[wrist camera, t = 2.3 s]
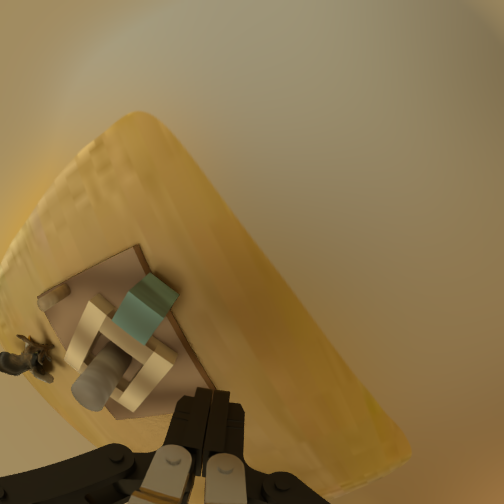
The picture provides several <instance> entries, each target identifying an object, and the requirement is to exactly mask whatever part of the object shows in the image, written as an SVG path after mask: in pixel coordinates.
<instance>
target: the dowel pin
mask: <svg viewBox="0 0 504 504" xmlns="http://www.w3.org/2000/svg"><path fill="white" fill-rule="evenodd" d="M70 293H71V290H70V287H69V286H68V285H67V284H63V285H61V286H59V287H58V288H56V289H54V290H53V291H51V292H49V293H48V294H46V295H44V296H43V297H41V298H39V299H38V301H37V304H38V307H39V309H40V310H41V311H43V312H45V311H46V310H48V309H49V308H51V307H52V306H54V305H55V304H57V303H58V302H60V301H61V300H63V299H64V298H66V297H67V296H69V295H70Z"/></svg>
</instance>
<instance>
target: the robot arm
mask: <svg viewBox="0 0 504 504" xmlns="http://www.w3.org/2000/svg"><path fill="white" fill-rule="evenodd" d="M212 395H213V399H212ZM229 396H230V392H229V391H222V390H215V389H214V393H213V389H208V388H202V387H197V388H196V392H195V396H194V397H191V396H186V395H184V396H183V397H182V398H181V399H180V400H178V401H177V404H176V407H175V410H174V413H173V416H172V419H171V422H170V426H169V429H168V432H167V435H166V438H165V441H164V444H163V445H162V447H160V448H159V449H158V450H156V451H154V452H149V453H132V451H131V450H130V449H129V448H128V447H126V446H124V445H122V444H117V443H112V444H108V445H105V446H103V447H100V448H98V449H95V450H92V451H90V452H87V453H84V454H82V455H79V456H76V457H73V458H70V459H67V460H64V461H61V462H58V463H55V464H52V465H48V466H45V467H41V468H38V469H34V470H30V471H27V472H23V473H18V474H14V475H9V476H5V477H0V504H124V503H126V502H128V504H188V502H189V499H190V495H191V492H192V488H193V485H194V479H195V476H201V470H202V477H206V480H205V495H204V504H330V503H329V502H327V501H326V500H325V499H323V498H322V497H321V496H319V495H318V494H317V493H316V492H314V491H313V490H312V489H310V488H309V487H308V486H307V485H305V484H304V483H303V482H302V481H301V480H299V479H298V478H297V477H296V476H294V475H293V474H291V473H288V472H274V473H272V474H270V475H269V474H265V473H262V472H259V471H256V470H254V469H252V468H251V467H249V466H248V465H247V463H246V462H245V460H244V457H243V445H244V417H245V412H244V410H243V408H242V406H241V404H238V403H230V402H229ZM202 464H203V468H202Z"/></svg>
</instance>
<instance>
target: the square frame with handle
mask: <svg viewBox="0 0 504 504" xmlns="http://www.w3.org/2000/svg"><path fill="white" fill-rule="evenodd" d="M178 296H179V294H178V293H176V292H175V291H174V290H172V289H171V288H170V287H168V286H167V285H166V284H165V283H163V282H162V281H161V280H159V279H158V278H157V277H155V276H154V275H153V274H152V273H149V274H148V275H146V276H145V277H144V278H143V279H142V280H141V281H139V282H138V283H137V284H136V285H135V286H134V287H133V288H131V289H130V290H129V291H128V293H127V294H126V296H125V298H124V299H123V301H122V303H121V305H120V306H119V308H118V309H117V308H116V307H115V306H113V305H112V304H111V303H110V302H108V301H107V300H106V299H105V298H104V297H103V296H101V295H100V294H99V293H98V294H97V295H96V296H94V297H93V298H92V299H90V300H89V302H88V304H87V306H86V308H85V310H84V312H83V314H82V317H81V319H80V321H79V323H78V326H77V328H76V330H75V333H74V335H73V337H72V340H71V342H70V344H69V347H68V349H67V352H66V355H65V357H64V361H65V362H66V363H68V364H69V365H70V366H71V367H72V368H73V369H75V370H76V371H77V372H78V373H79V374H82V373H83V371H84V370H85V369H86V368H87V367H88V365H89V364H90V363H91V362H92V361H93V359H94V358H95V356H94V355H93V354H92V353H91V352H92V350H93V348H94V346H95V344H96V342H97V340H98V338H99V336H100V334H101V333H102V334H103V335H105V336H106V337H107V338H108V339H110V340H111V341H112V342H113V343H115V344H116V345H117V346H119V347H120V348H121V349H123V350H124V351H125V352H127V353H128V354H129V355H131V356H132V357H133V358H135V359H136V360H138V361H139V362H140V363H142V364H143V365H142V366H141V367H140V369H139V370H138V372H137V373H136V374H135V376H134V377H133V378H132V380H131V381H130V382H129V381H127V380H126V379H125V378H123V377H122V378H121V379H120V381H119V383H118V384H117V386H116V387H115V389H114V391H113V392H112V394H111V395H110V397H111V398H112V399H114V400H115V401H117V402H118V403H120V404H121V405H123V406H124V407H126V408H127V409H129V410H130V411H132V412H134V411H135V410H136V409H137V408H138V407H139V405H140V404H141V403H142V402H143V401H144V400H145V398H146V397H147V396H148V395H149V394H150V392H151V391H152V390H153V389H154V388H155V387H156V385H157V384H158V383H159V382H160V381H161V379H162V378H163V377H164V376H165V375H166V374H167V372H168V371H169V370H170V369H171V368H172V366H173V365H174V363H175V361H176V358H177V356H178V353H176V352H175V351H173V350H172V349H170V348H169V347H168V346H166V345H165V344H163V343H162V342H160V341H159V340H158V339H156V338H155V337H153V336H152V334H153V333H154V331H155V330H156V329H157V327H158V326H159V324H160V323H161V322H162V320H163V319H164V317H165V316H166V314H167V313H168V311H169V310H170V308H171V307H172V305H173V304H174V302H175V301H176V299H177V298H178Z"/></svg>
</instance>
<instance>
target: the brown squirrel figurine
mask: <svg viewBox="0 0 504 504" xmlns="http://www.w3.org/2000/svg"><path fill="white" fill-rule="evenodd" d="M16 336H17V337H18V338H20V339H22V340H23V341H24V342H26V345H25V346H26V348H25V351H24V353H21V355H16V354H10V353H8V352H1V353H0V371H1V372H4V373H7V374H9V375H14V376H18V375H20V374H21V373H23V372H25V371H27V370H29V371H30V372H31V373H32V374H34V376H35V377H36V378H38V379H40V380H42V381H44V382H47V383H52V382H53V380H54V378H53V376H52V375H50V374H49V373H47V372H45V371H44V370H43V369H42V365H43V360H44V358H45V357H46V358H47V359H48V360H49V361H51V358H50V357H49V356H48V355H47V352H48V351H49V350H50V349H52V348H54V345H47V344H45V345H44V344H42V345H39V344H35V343H33V342H32V341H31V339H30V336H29V337H28V338H26V337H25V336H23V335H16Z"/></svg>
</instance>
